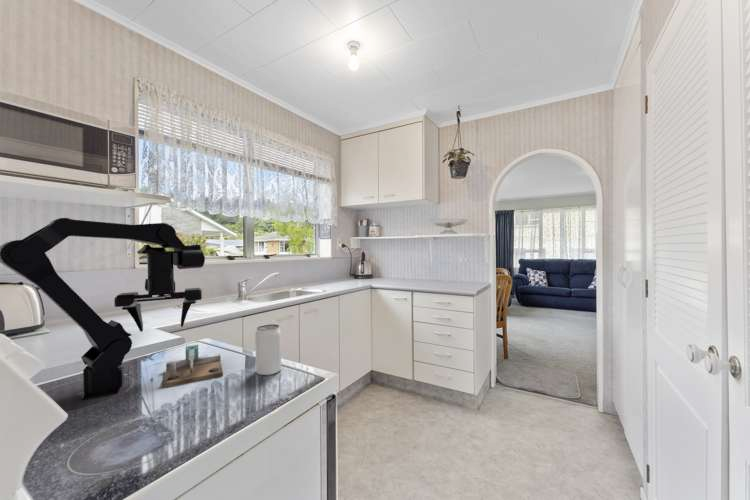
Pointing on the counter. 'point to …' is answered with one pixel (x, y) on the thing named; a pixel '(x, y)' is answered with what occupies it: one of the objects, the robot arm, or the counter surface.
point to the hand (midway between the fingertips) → (162, 328)
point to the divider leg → (191, 355)
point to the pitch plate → (201, 370)
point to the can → (268, 349)
